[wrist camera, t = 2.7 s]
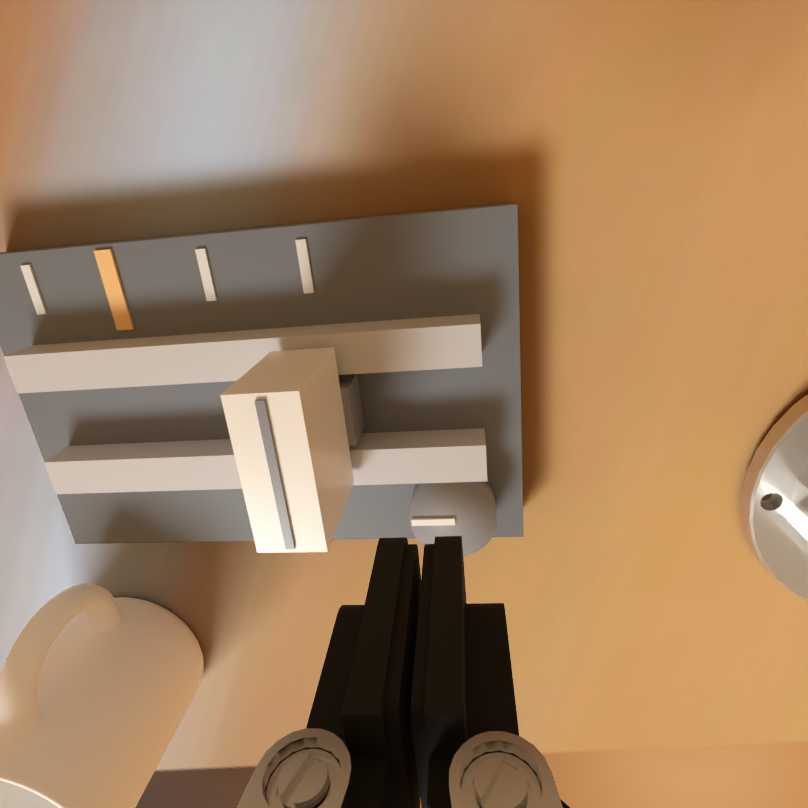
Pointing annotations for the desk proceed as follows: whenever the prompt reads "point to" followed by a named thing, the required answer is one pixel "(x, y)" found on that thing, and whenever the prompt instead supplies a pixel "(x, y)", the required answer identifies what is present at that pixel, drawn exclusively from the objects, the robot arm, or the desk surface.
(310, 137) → the desk surface
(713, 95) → the desk surface
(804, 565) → the robot arm
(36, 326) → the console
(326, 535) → the fader
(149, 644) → the mug
